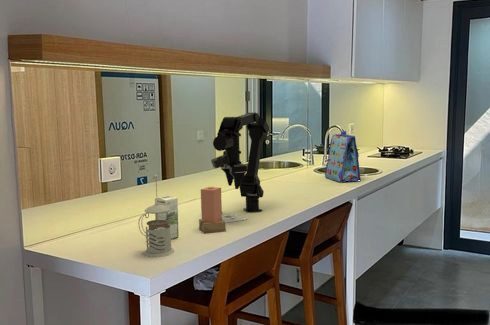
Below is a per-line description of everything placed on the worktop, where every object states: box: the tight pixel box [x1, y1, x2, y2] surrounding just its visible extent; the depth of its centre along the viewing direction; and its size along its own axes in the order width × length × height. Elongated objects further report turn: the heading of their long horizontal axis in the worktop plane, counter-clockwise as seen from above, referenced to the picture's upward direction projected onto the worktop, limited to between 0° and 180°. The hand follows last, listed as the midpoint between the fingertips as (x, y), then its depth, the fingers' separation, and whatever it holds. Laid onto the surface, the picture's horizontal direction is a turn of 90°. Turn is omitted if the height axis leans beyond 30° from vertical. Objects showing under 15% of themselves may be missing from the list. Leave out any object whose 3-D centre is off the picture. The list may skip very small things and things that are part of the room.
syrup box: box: [154, 195, 179, 240], centre depth 176 cm, size 6×6×14 cm
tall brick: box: [200, 186, 223, 223], centre depth 185 cm, size 6×6×12 cm
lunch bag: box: [324, 130, 362, 183], centre depth 294 cm, size 22×14×29 cm, turn 15°
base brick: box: [198, 218, 227, 234], centre depth 186 cm, size 8×8×4 cm
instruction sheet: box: [222, 213, 248, 224], centre depth 204 cm, size 12×9×1 cm
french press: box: [138, 174, 176, 258], centre depth 159 cm, size 10×12×25 cm
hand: (233, 187), depth 201 cm, fingers open, 9 cm apart
